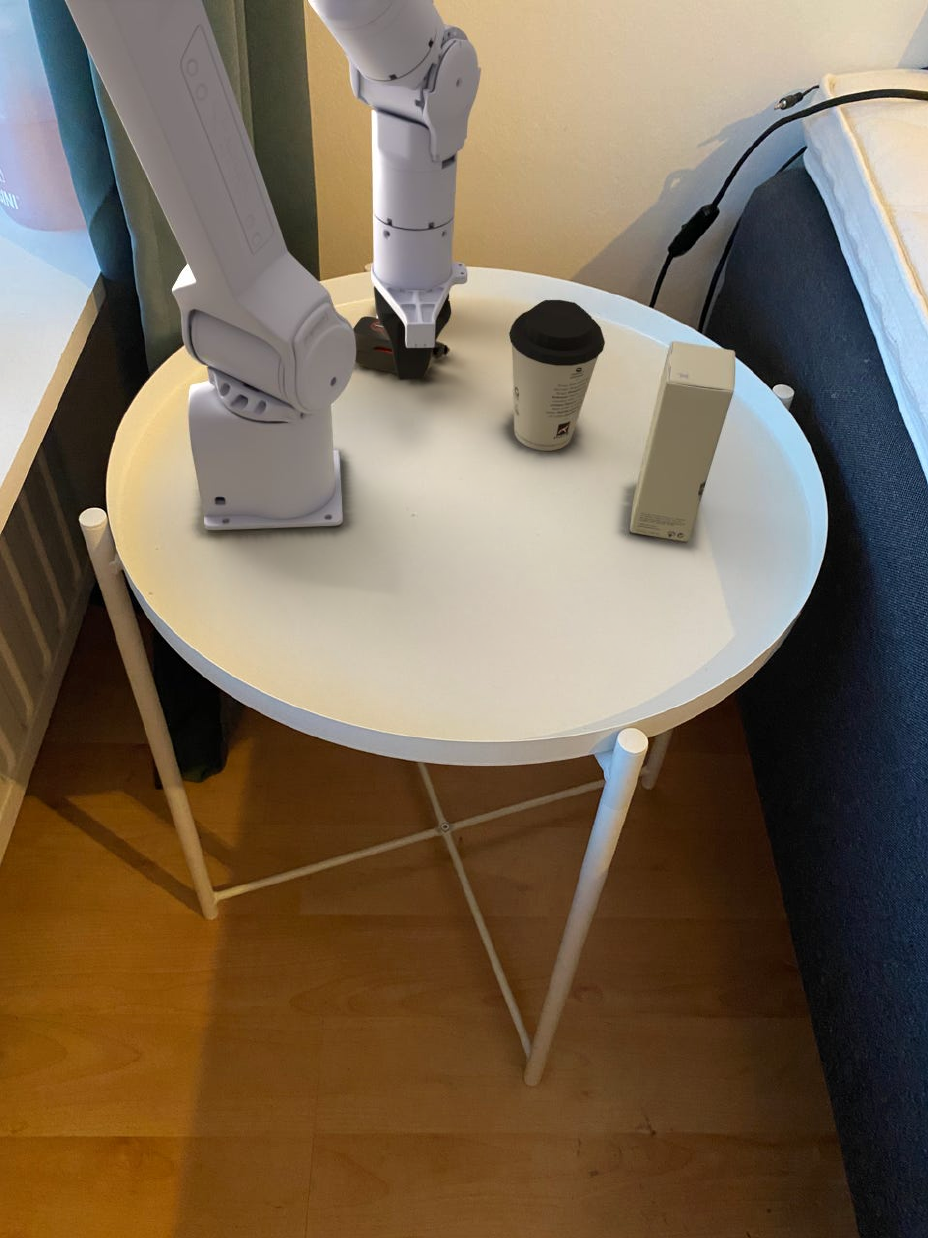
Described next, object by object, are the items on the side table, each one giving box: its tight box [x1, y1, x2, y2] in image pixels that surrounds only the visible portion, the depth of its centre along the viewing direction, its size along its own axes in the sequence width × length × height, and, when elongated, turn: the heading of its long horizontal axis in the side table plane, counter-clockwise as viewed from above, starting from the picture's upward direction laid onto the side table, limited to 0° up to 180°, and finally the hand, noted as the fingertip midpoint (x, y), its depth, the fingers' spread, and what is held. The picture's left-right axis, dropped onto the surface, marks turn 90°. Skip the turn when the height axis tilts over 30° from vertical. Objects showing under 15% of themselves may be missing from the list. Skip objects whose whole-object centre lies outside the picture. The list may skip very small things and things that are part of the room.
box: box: [629, 340, 736, 542], centre depth 66 cm, size 5×4×13 cm
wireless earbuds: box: [352, 316, 451, 375], centre depth 81 cm, size 5×7×3 cm, turn 73°
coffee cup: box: [508, 299, 606, 452], centre depth 73 cm, size 7×7×10 cm
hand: (410, 375), depth 78 cm, fingers closed
